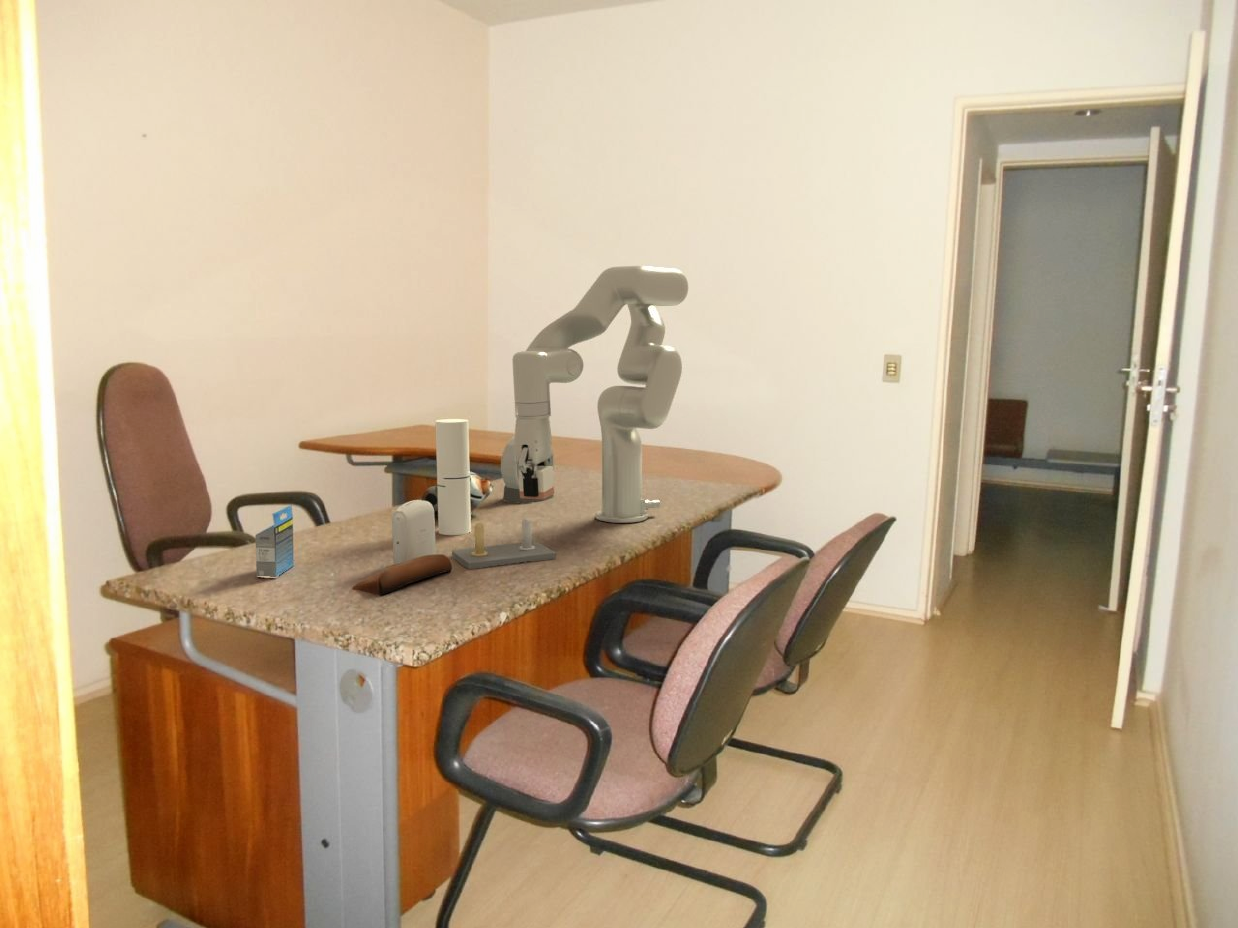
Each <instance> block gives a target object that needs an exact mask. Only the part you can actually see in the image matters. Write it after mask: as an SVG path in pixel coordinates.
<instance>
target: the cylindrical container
mask: <svg viewBox="0 0 1238 928" xmlns="http://www.w3.org/2000/svg"><path fill="white" fill-rule="evenodd" d="M469 424H470V423H469V419H465V418H463V419H462V418H447V419H446V418H444V419H443V418H442V419H437V420H435V445H436V447H435V449H436V450H435V451H436V454H435V455H436V480H437V481H436V482H437V483H436V486H437V489H438V516H437V517H438V519H437V520H438V534H440V535H444V536H461V535H467V534H469V532H470V533H471V532H472V522H471V521H472V520H471V519H472V517H471V515H472V514H471V509H470V476H469V475H470V472H471V471H470V466H471V465H470V436H469V435H470V430H469Z"/></svg>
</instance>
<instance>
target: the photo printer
mask: <svg viewBox="0 0 1238 928" xmlns="http://www.w3.org/2000/svg"><path fill="white" fill-rule="evenodd" d="M435 525H436V523H435V516H434V508H433V506H432V504H431V503H430V502H428V501H422V500H421V499H414V500H413V499H412V500H410V501H407V502H404V503H403V504H402V505H400V506H399V507H398V508H396V509H395V511H393V513H392V517H391V532H392V554H393V556H392V557H393V565H395V564H401V563H403V562H406V561H408V560H411V559H414V558H417V557H421V556H426V555H435V554H436V553H437V552H436V549H437V548H436V527H435ZM436 555H437V554H436Z"/></svg>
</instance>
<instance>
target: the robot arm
mask: <svg viewBox="0 0 1238 928" xmlns="http://www.w3.org/2000/svg"><path fill="white" fill-rule="evenodd" d="M688 292H689V283H688V279H687V276H685V274H684V273H683V272H682V271H681V270H679V269H676V268H671V267H670V268H668V267H666V268H665V267H658V266H657V267H655V266H649V265H648V266H646V265H627V266H625V265H624V266H611V267H609V268H607V269H604V270H603V271H602V272H601V273H600V275H598V277H597V278H596V280H595V281H594V282H593V284H592V285H591V286H590V287H589V288H588V290H587V291H586V292H585V294H584V295H583V296H582V298H581V299H580V300H579V302H578V303H577V304H576V306H575V307H573V309H572V310H569V311H568V312H566V313H564V314H562V316H560V317H558V318H557V319H555V320H554V321H553V322H551V323H549V324H548V325H546V326H545V327H544V328H543V329H541V331H540V332H539V333H538V334H537V335H535V338H533V340H532V342H530V344H529V345H528V346H527V348H526V350H524V351H518V352H516V353H514V354H513V356H512V377H513V394H514V415H515V418H516V420H515V426H514V427H515V429H514V436H515V462H516V463H517V464H518V467H519V468H520V470H521V473H522V478H523V490H524V496H527V497H537V496H538V495H539V493H538V478H536V470H537V466H549V462H550V457H551V455H552V450H553V442H552V431H551V422H550V417H551V416H552V412H551V411H552V410H551V409H552V408H551V392H550V391H551V390H550V384H553V383H555V384H557V383H558V384H568V383H572V382H574V381H576V380H577V379H579V377H580V376H581V375H582V373H583V371H584V360H583V358H582V356H581V354H580V353H579V352H578V351H576V350H574V349H572V348H570V347H572V346H575V345H578V344H579V343H583V342H585V341H589V340H591V339H595V338H596V337H598V336H601V335H602V334H604V333H605V332H606V331H607V330H608V328H609V326H610V325H611V324H612V323H613V321H614V319H615V318H616V317H617V316H618V314H619V313H620V311H622V309H623V308H624V306H626V305H627V309H628V311H629V316H630V326H629V330H628V334H627V336H626V340H625V342H624V345H623V348H622V351H621V353H620V357H619V359H618V364H617V369H616V370H617V375H618V377H619V379H620V380H622V381H623V382H624V383H627V384H630V385H614V386H613V385H612V386H609V387H607V388H605V389H604V390H602V392H601V393H600V395H599V397H598V400H597V406H596V407H597V414H598V415H597V416H598V419H599V423H600V424H599V425H600V431H601V434H600V435H601V509H600V510H598V511H596V512H595V518H596V520H598V521H602V522H607V523H614V524H616V523H617V524H620V523H621V524H623V523H624V524H625V523H626V524H628V523H630V524H631V523H639V522H643V521H645V520H647V519H648V518H649V513H648V511H647V510H649V509H657V508H660V506H661V502H660V500H659V499H652V500H650V499H645V498H643V494H642V493H643V492H642V491H643V490H642V489H643V488H642V487H643V482H642V481H643V474H642V473H643V443H642V439H641V436H640V433H639V432H638V430H637V429H642V430H643V429H644V430H655V429H658V428H660V427H661V426H662V425H663V424H664V423H665V422H666V420H667V417H668V415H669V413H670V410H671V407H672V405H673V401H674V398H675V394H676V392H677V389H678V386H679V383H680V381H681V377H682V373H683V372H682V369H683V367H682V362H683V361H682V358H681V356H680V353H679V352H678V351H677V350H676V349H675V348H674V347H672V346H669V345H663V342H664V339H665V334H666V326H665V322H664V319H663V317H662V316H661V313H660V311H659V309H658V307H672V306H678V305H680V304H682V303H683V302H684V300H686V297H687V296H688ZM631 385H639V386H631ZM642 386H643V387H642ZM527 461H532V463H527ZM528 467H532V471H531V469H530V468H528Z"/></svg>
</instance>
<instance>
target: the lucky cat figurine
mask: <svg viewBox="0 0 1238 928" xmlns="http://www.w3.org/2000/svg"><path fill="white" fill-rule="evenodd" d="M469 476H470V509H471V515H472V514H473V512H474V511H475V510H476V509H477V508H478V507H479V505H481V503H483V502H484V501H485V500H486V499H487V498H488V497H489V496H490V495H491V493H492V491H493V489H494V484H492V482H491V477H483V478H482V477H481V476H479V474H478V473H476V472H473V471H470V475H469ZM420 500H422V501H428V502H430V503H431V504H432V506H433V508H434V517H435V516H436V517H438V489H437V485H435V486H430V487H428V488H427V489H426V490H425V491H424V492H423V494H422V496H421V499H420Z"/></svg>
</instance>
